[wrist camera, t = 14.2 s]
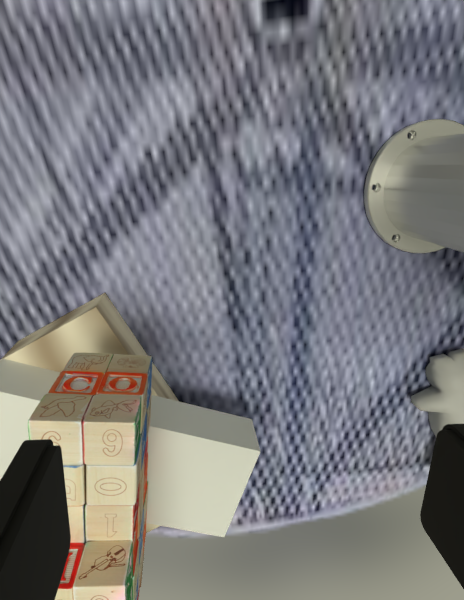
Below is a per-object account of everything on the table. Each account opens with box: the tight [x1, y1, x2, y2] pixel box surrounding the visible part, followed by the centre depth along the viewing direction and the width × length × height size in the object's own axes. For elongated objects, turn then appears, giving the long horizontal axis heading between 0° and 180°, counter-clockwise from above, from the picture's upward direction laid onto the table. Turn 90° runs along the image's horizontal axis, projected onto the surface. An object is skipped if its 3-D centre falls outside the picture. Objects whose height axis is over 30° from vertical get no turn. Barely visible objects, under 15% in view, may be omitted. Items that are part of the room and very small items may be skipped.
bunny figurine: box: [411, 349, 464, 437], centre depth 48 cm, size 10×5×15 cm
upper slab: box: [0, 358, 260, 537], centre depth 39 cm, size 10×24×5 cm, turn 71°
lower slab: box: [3, 293, 178, 533], centre depth 43 cm, size 10×24×5 cm, turn 28°
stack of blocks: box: [28, 353, 152, 600], centre depth 30 cm, size 21×6×12 cm, turn 175°
